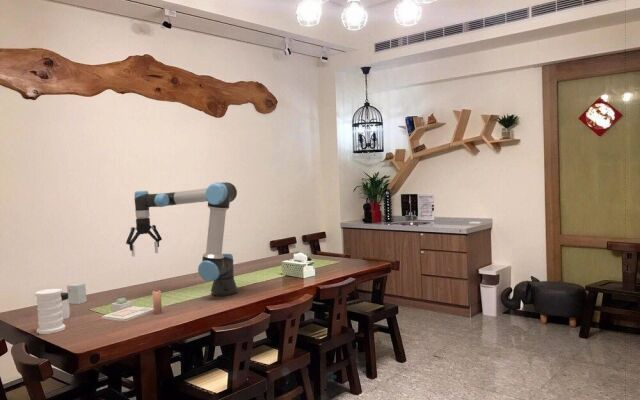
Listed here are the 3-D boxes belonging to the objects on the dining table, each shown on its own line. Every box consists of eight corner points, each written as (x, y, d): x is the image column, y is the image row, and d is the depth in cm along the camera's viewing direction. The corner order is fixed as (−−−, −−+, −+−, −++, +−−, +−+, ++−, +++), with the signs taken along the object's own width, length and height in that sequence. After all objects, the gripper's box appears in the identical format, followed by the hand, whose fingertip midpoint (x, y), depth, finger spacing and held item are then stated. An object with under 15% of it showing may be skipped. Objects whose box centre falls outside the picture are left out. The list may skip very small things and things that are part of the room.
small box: (86, 301, 286) (85, 283, 285) (79, 304, 280) (77, 285, 280) (75, 301, 288) (74, 283, 288) (67, 303, 283) (66, 285, 282)
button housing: (132, 307, 266) (132, 301, 266) (121, 311, 260) (121, 304, 260) (122, 306, 270) (122, 300, 270) (111, 310, 263) (110, 303, 263)
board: (156, 310, 258) (156, 308, 258) (125, 321, 240) (125, 318, 240) (133, 308, 265) (133, 306, 265) (101, 318, 247) (101, 316, 247)
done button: (127, 305, 266) (127, 298, 266) (121, 307, 262) (121, 300, 262) (122, 305, 268) (121, 297, 267) (115, 307, 264) (115, 299, 264)
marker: (163, 312, 255) (162, 288, 254) (157, 314, 251) (156, 290, 251) (157, 311, 256) (156, 288, 256) (151, 313, 253) (150, 289, 252)
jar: (66, 314, 258) (64, 291, 257) (73, 317, 252) (72, 293, 252) (47, 319, 251) (46, 295, 250) (54, 321, 246) (53, 297, 245)
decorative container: (30, 333, 227) (28, 293, 227) (52, 325, 238) (50, 287, 237) (49, 334, 223) (47, 294, 222) (71, 327, 234) (68, 288, 233)
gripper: (160, 215, 300) (163, 251, 301) (118, 219, 284) (120, 257, 284) (166, 216, 294) (168, 252, 295) (123, 219, 278) (125, 258, 279)
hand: (145, 254), depth 290 cm, fingers open, 13 cm apart
